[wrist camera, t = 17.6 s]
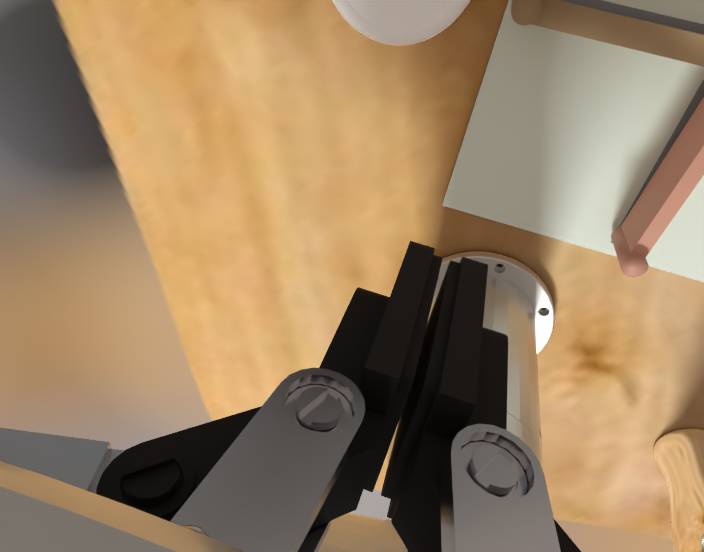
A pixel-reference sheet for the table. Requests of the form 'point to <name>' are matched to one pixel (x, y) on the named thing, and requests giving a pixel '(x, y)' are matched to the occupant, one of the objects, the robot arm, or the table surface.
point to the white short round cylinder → (400, 18)
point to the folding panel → (662, 197)
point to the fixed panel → (611, 28)
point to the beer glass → (684, 485)
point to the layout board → (582, 134)
